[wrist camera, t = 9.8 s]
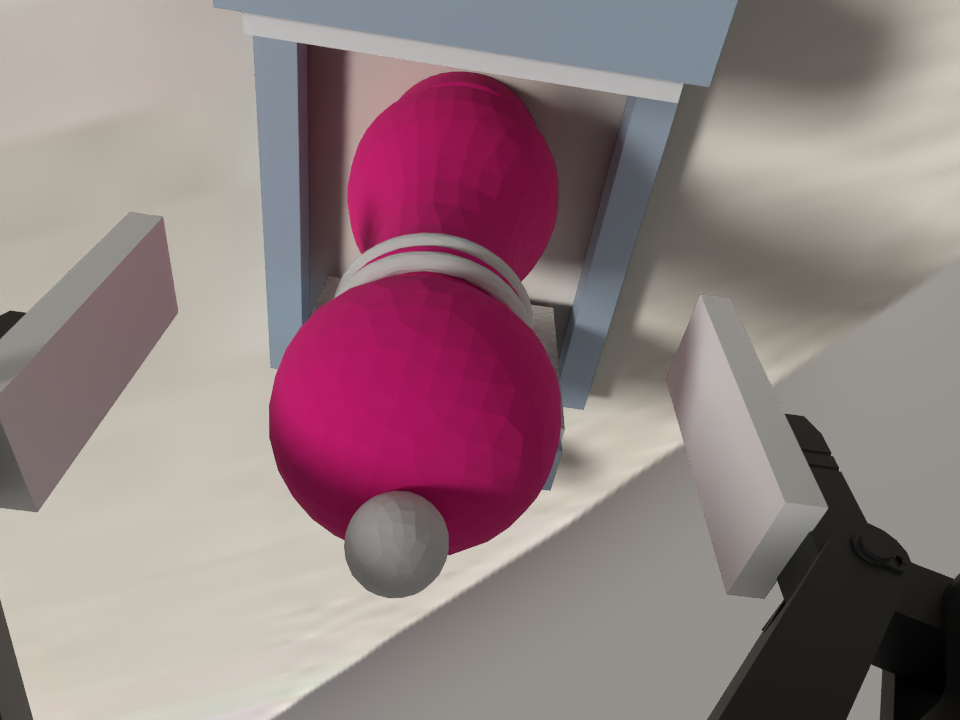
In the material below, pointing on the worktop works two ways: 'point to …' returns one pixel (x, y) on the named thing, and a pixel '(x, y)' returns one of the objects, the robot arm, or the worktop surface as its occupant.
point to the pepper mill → (428, 341)
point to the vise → (498, 50)
